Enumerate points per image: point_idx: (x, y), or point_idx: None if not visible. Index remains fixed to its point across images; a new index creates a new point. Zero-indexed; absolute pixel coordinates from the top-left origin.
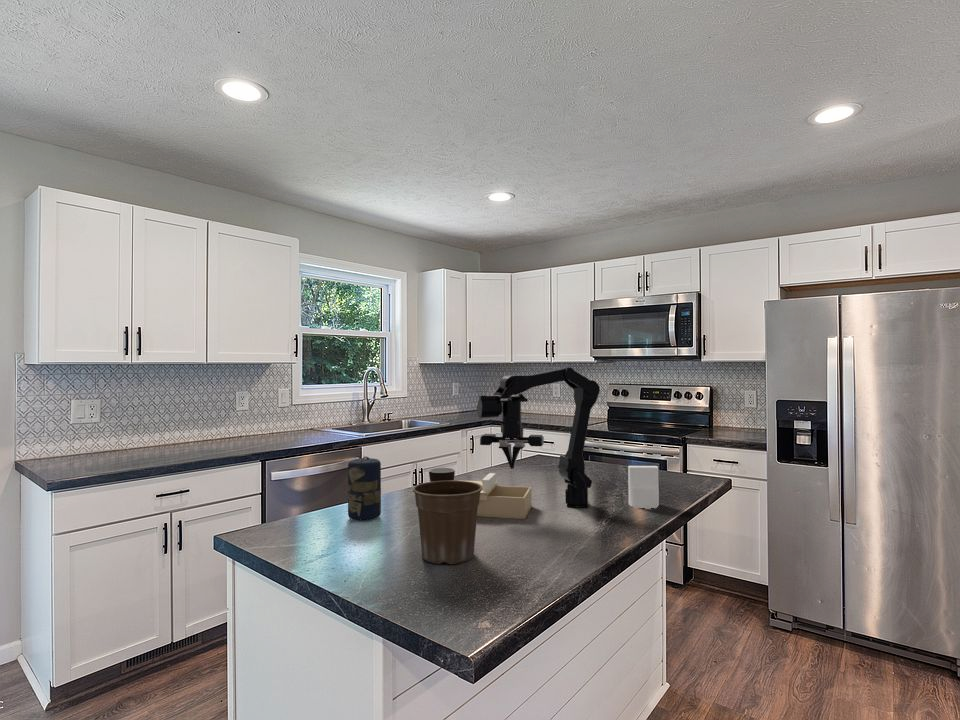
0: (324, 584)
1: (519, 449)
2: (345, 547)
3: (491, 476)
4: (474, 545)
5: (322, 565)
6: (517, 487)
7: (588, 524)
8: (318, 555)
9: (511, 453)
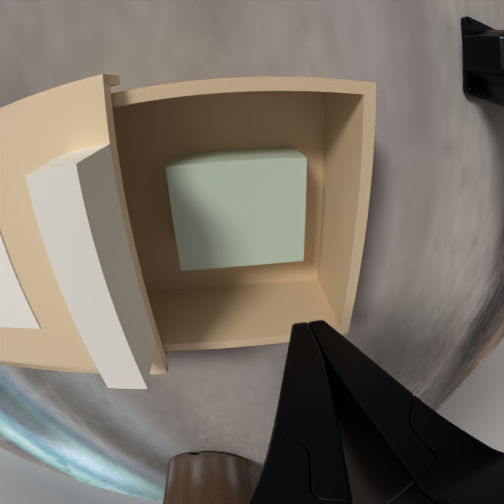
0: (130, 494)
1: (496, 472)
2: (56, 450)
3: (104, 301)
4: (250, 474)
5: (88, 476)
6: (277, 90)
7: (480, 273)
8: (57, 462)
9: (343, 468)
